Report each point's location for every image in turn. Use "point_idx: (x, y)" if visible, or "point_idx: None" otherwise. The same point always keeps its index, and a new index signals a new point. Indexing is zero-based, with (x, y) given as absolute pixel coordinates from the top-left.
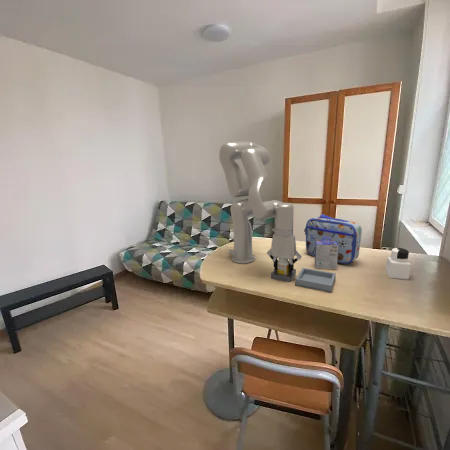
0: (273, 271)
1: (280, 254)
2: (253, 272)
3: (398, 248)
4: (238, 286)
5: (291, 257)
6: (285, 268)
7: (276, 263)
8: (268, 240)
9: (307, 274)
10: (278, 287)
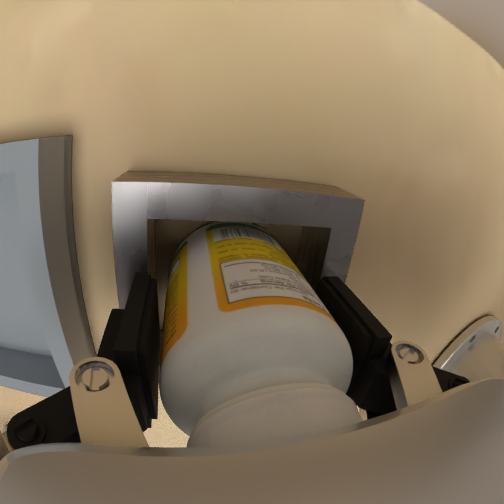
0: (339, 261)
1: (424, 501)
2: (444, 250)
3: None
4: (475, 42)
5: (14, 485)
6: (199, 291)
7: (355, 341)
8: None
9: (50, 351)
10: (225, 34)
